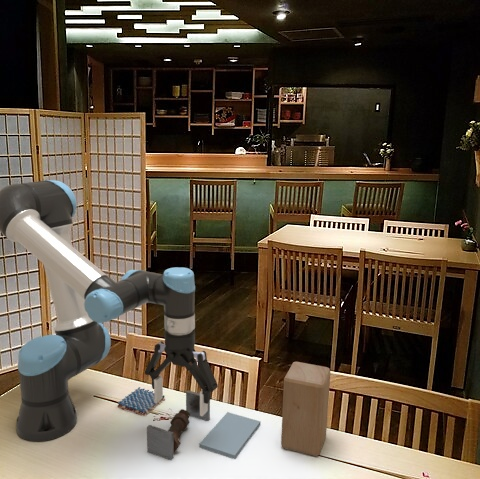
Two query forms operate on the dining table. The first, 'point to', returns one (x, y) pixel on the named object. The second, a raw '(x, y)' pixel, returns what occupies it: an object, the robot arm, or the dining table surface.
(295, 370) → the wooden block
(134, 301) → the robot arm
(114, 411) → the dining table surface
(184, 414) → the bolt
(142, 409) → the woven mat
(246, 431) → the slate pad
